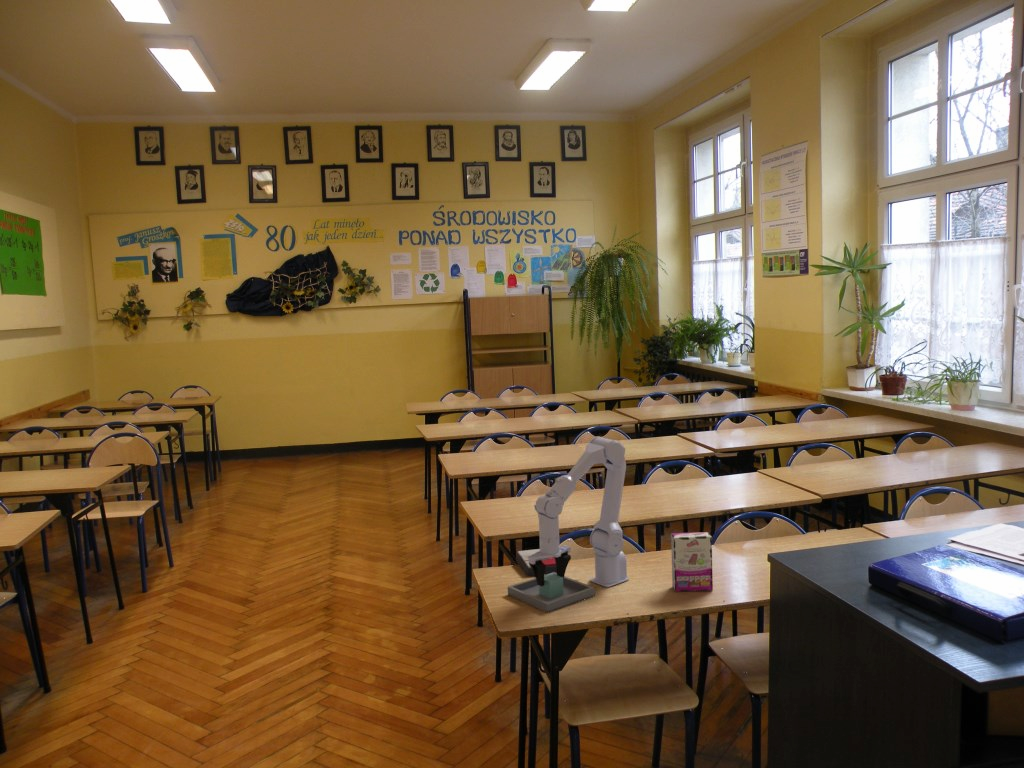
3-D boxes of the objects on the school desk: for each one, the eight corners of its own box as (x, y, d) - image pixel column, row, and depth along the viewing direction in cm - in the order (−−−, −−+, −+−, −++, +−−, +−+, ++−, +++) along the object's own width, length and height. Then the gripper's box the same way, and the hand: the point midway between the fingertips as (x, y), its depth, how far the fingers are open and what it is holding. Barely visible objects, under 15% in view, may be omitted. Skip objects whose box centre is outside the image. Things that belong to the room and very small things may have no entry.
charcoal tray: (554, 579, 236) (553, 571, 236) (594, 596, 222) (594, 587, 222) (507, 594, 225) (507, 586, 225) (547, 613, 211) (547, 604, 211)
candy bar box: (708, 585, 228) (708, 531, 226) (713, 591, 223) (712, 536, 221) (671, 586, 228) (670, 532, 226) (674, 592, 223) (673, 537, 221)
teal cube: (552, 589, 227) (551, 573, 226) (563, 594, 223) (563, 577, 223) (539, 593, 224) (538, 577, 223) (550, 598, 220) (549, 581, 220)
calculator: (527, 566, 239) (515, 549, 254) (527, 579, 240) (516, 562, 255) (561, 562, 242) (547, 546, 256) (561, 575, 243) (547, 558, 257)
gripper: (538, 545, 214) (540, 592, 216) (577, 534, 223) (578, 579, 225) (523, 539, 220) (524, 585, 221) (561, 529, 229) (562, 573, 230)
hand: (550, 582), depth 223 cm, fingers open, 7 cm apart
